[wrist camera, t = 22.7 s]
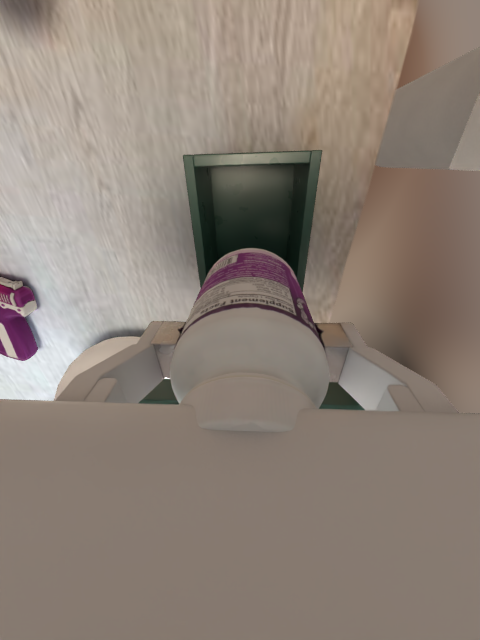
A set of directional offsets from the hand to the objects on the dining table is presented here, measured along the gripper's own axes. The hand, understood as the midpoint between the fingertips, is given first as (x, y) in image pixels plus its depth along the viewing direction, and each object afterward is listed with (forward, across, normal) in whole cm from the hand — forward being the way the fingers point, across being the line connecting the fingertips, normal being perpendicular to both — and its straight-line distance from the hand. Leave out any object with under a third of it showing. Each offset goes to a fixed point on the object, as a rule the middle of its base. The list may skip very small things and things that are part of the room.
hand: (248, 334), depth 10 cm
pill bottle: (+4, 0, 0) cm, 4 cm away
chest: (+22, 0, 0) cm, 23 cm away
